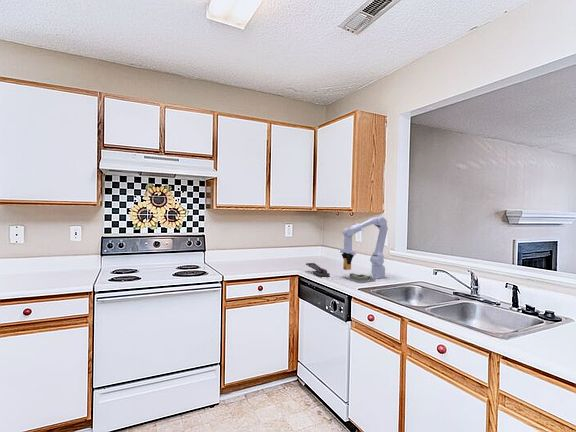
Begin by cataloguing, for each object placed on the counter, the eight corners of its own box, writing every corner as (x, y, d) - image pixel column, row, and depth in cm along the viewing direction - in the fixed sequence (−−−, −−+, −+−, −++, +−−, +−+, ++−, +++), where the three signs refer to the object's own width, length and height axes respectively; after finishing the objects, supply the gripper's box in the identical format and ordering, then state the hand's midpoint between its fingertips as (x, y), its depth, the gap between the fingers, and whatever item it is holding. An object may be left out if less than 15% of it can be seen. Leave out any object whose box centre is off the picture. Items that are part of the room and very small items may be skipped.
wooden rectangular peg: (348, 268, 238) (348, 257, 238) (351, 269, 236) (351, 258, 235) (343, 269, 236) (343, 258, 236) (346, 269, 233) (346, 258, 233)
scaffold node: (358, 276, 242) (358, 271, 242) (375, 281, 227) (375, 275, 227) (343, 278, 235) (343, 272, 235) (360, 283, 220) (360, 277, 220)
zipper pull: (314, 262, 261) (331, 268, 238) (314, 271, 261) (331, 277, 238) (304, 263, 257) (321, 268, 235) (304, 271, 257) (320, 278, 235)
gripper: (337, 244, 240) (336, 262, 240) (350, 246, 227) (349, 265, 227) (344, 243, 243) (344, 262, 244) (358, 245, 231) (357, 265, 231)
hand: (347, 263), depth 236 cm, fingers closed on wooden rectangular peg, 3 cm apart
